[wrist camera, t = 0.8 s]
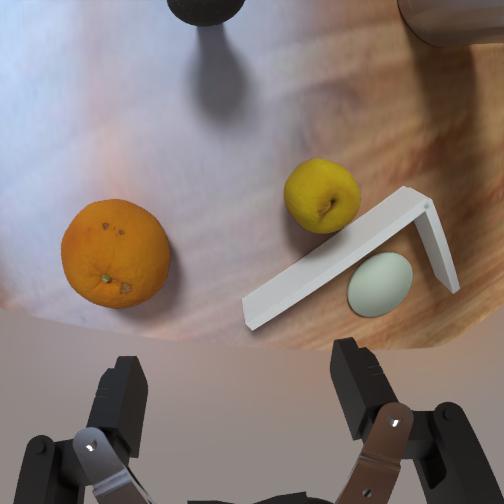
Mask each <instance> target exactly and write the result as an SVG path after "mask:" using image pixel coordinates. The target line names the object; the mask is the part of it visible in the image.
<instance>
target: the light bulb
mask: <svg viewBox="0 0 504 504" xmlns="http://www.w3.org/2000/svg"><path fill="white" fill-rule="evenodd" d="M244 1H245V0H167V3H168V6H169V8H170V10H171V11H172V13H173V14H174V15H175V16H176V17H177V18H179V19H180V20H182V21H184V22H185V23H188V24H190V25H195V26H213V25H218V24H220V23H223V22H225V21H227V20H229V19H230V18H232V17H233V16H234V15H235V14H236V13H237V12H238V11H239V10H240V9H241V7H242V6H243V4H244Z"/></svg>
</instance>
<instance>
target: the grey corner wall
mask: <svg viewBox="0 0 504 504" xmlns="http://www.w3.org/2000/svg"><path fill="white" fill-rule="evenodd" d="M413 220H414V223H415V225H416V228H417V230H418V232H419V235H420V237H421V240H422V242H423V245H424V248H425V250H426V253H427V255H428V258H429V261H430V264H431V266H432V269H433V272H434V275H435V277H436V278H437V279H438V280H439V281H440V282H441V283H442V284H443V285H444V286H445V287H446V288H448V289H449V290H450V291H451V292H452V293H453V294H454V293H455V292H457V291H458V290H459V289H460V286H459V282H458V279H457V275H456V271H455V268H454V264H453V261H452V257H451V254H450V251H449V247H448V244H447V241H446V238H445V235H444V232H443V229H442V226H441V223H440V220H439V218H438V215H437V212H436V209H435V207H434V204H433V201H432V199H430V198H428V197H426V196H425V195H423V194H421V193H419V192H417V191H415V190H413V189H412V188H410V187H409V188H407V187H405V186H402V187H401V188H400V189H398V190H397V191H395V192H394V193H393V194H391V195H390V196H389V197H387V198H386V199H385V200H383V201H382V202H380V203H379V204H378V205H376V206H375V207H374V208H372V209H371V210H369V211H368V212H367V213H365V214H364V215H362V216H361V217H360V218H358V219H357V220H355V221H354V222H353V223H351V224H350V225H348V226H347V227H346V228H344V229H343V230H341V231H340V232H339V233H337V234H336V235H334V236H333V237H331V238H330V239H329V240H327V241H326V242H324V243H323V244H321V245H320V246H319V247H317V248H316V249H314V250H313V251H311V252H310V253H309V254H307V255H306V256H304V257H303V258H301V259H300V260H298V261H297V262H296V263H294V264H293V265H291V266H290V267H288V268H287V269H285V270H284V271H282V272H281V273H279V274H278V275H277V276H275V277H274V278H272V279H271V280H269V281H268V282H266V283H265V284H263V285H262V286H260V287H259V288H257V289H256V290H254V291H253V292H251V293H250V294H248V295H247V296H245V297H244V298H242V304H243V310H244V317H245V324H246V325H247V326H248V327H249V328H250V329H251V330H252V331H253V330H254V329H256V328H258V327H259V326H261V325H262V324H264V323H266V322H267V321H269V320H270V319H272V318H273V317H275V316H277V315H278V314H280V313H281V312H283V311H284V310H286V309H287V308H289V307H290V306H292V305H294V304H295V303H297V302H298V301H300V300H301V299H303V298H304V297H306V296H307V295H309V294H310V293H312V292H313V291H315V290H316V289H318V288H319V287H321V286H322V285H324V284H325V283H327V282H328V281H329V280H331V279H332V278H334V277H335V276H337V275H338V274H340V273H341V272H342V271H344V270H345V269H347V268H348V267H350V266H351V265H352V264H354V263H355V262H357V261H358V260H360V259H361V258H362V257H364V256H365V255H367V254H368V253H369V252H371V251H372V250H374V249H375V248H376V247H378V246H379V245H380V244H382V243H383V242H384V241H386V240H387V239H389V238H390V237H391V236H393V235H394V234H395V233H397V232H398V231H399V230H401V229H402V228H403V227H405V226H406V225H407V224H409V223H410V222H411V221H413Z"/></svg>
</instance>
